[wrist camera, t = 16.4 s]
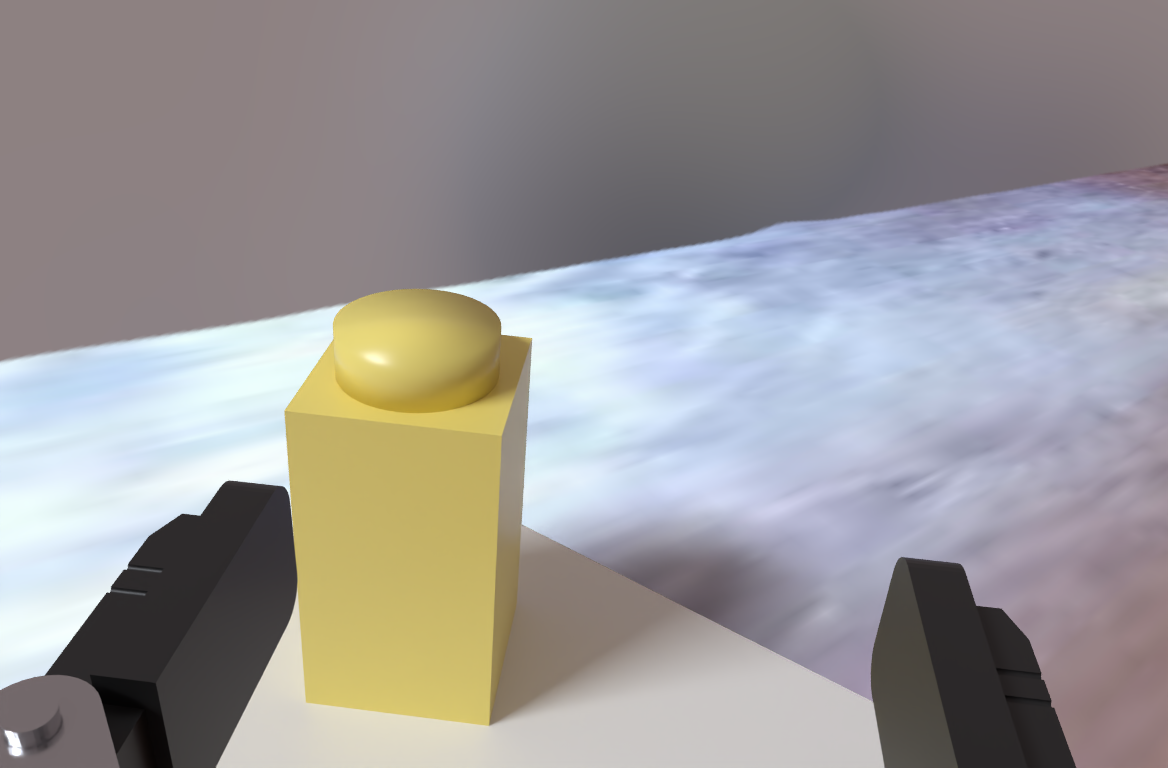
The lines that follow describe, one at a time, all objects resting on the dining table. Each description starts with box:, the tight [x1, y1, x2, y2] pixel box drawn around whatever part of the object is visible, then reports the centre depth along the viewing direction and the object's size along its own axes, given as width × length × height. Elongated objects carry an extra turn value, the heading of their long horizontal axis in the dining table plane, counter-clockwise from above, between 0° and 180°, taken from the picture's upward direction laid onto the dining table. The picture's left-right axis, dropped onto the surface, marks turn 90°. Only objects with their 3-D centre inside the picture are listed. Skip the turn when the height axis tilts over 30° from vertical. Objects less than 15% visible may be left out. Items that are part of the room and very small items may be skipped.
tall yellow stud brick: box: [285, 289, 532, 726], centre depth 33 cm, size 6×6×13 cm
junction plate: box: [216, 524, 885, 768], centre depth 33 cm, size 16×26×8 cm, turn 55°
